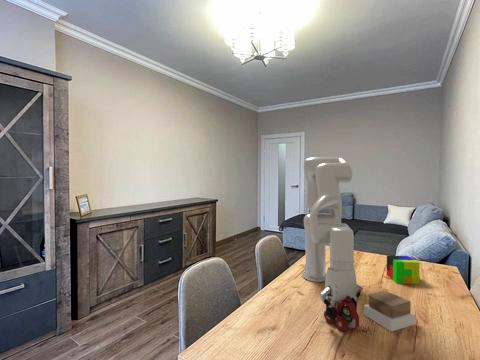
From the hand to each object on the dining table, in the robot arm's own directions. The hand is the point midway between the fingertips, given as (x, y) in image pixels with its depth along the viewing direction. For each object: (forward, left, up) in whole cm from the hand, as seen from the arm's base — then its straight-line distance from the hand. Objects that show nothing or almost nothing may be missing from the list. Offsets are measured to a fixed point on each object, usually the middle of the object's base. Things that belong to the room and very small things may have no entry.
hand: (341, 314), depth 89 cm
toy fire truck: (0, 0, -4) cm, 4 cm away
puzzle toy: (-19, +55, -4) cm, 58 cm away
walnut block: (+4, +17, 0) cm, 18 cm away
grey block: (+4, +17, -4) cm, 18 cm away
